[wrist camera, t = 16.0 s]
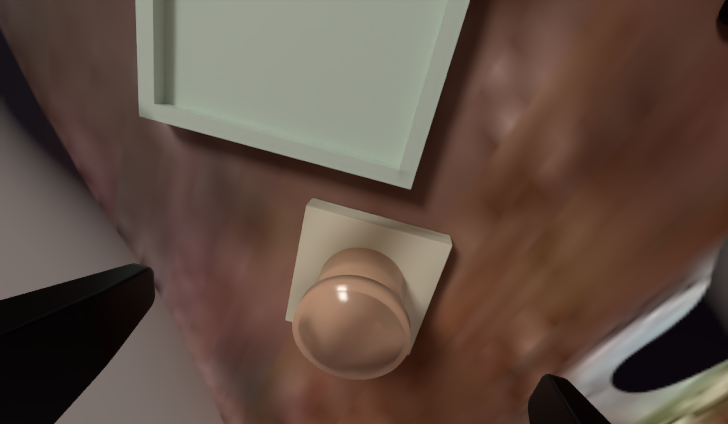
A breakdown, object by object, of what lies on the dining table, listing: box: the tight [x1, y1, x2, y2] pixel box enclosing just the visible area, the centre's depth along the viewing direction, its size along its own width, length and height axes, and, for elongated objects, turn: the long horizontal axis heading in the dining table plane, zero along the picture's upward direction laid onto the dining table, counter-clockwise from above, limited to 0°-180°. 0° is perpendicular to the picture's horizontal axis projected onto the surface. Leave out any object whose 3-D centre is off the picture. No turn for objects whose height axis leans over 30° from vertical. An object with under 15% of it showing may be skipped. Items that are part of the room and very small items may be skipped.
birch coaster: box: [285, 198, 452, 355], centre depth 20 cm, size 8×8×1 cm
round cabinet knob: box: [292, 248, 411, 380], centre depth 18 cm, size 6×6×4 cm
